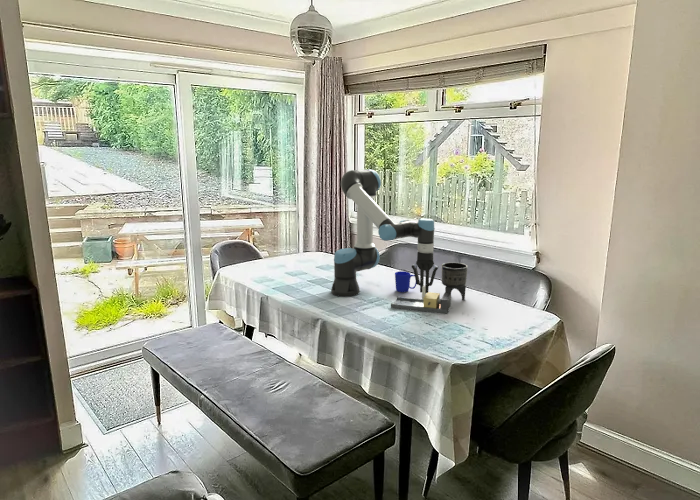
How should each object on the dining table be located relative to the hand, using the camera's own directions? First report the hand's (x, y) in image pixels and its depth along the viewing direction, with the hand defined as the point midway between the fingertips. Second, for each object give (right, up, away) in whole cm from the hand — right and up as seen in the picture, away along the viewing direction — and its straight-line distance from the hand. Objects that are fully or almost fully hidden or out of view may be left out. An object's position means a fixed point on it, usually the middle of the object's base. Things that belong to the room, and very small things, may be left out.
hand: (424, 298), depth 230 cm
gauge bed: (-1, -4, +1) cm, 5 cm away
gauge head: (+4, -3, -2) cm, 5 cm away
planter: (+17, -2, +14) cm, 22 cm away
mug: (-6, +1, +27) cm, 28 cm away
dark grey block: (+10, -5, -3) cm, 11 cm away
